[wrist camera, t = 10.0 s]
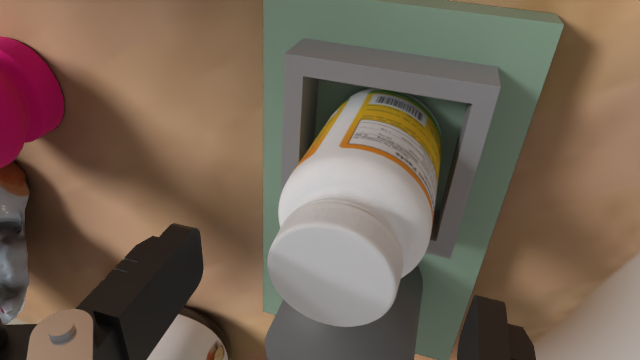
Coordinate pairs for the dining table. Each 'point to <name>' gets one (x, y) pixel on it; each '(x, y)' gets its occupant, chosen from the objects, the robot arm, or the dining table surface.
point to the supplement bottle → (358, 209)
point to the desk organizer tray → (456, 130)
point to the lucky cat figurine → (13, 241)
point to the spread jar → (192, 339)
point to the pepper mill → (25, 98)
